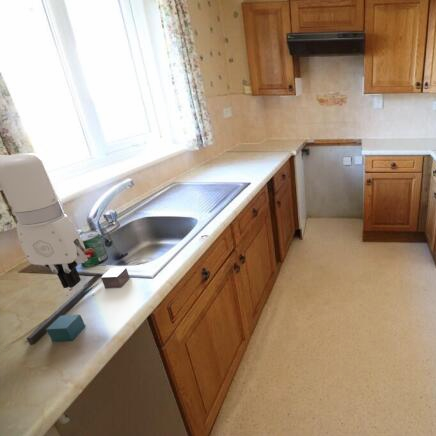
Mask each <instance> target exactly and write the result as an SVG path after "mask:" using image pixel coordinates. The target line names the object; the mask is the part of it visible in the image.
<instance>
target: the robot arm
mask: <svg viewBox="0 0 436 436" xmlns="http://www.w3.org/2000/svg"><path fill="white" fill-rule="evenodd" d="M0 191H2V192H3V194H4V196H5V198H6V200H7V202H8V204H9V206H10V208H11V214H12V215H13V216H15V218H16V221H17V222H16V224H15V226H16V234H17V237H18V241H19V244H20V246H21V248H22V251H23V253H24V255H25V258H26V259H27V261H28V262H29V264H31V265H35V266H42V267H46V268H48V269H50V270H51V272H52V273H53V274H54V275H55V274H56V275H57V277H58V279H59V281H60V284H61V286H62V288H63V289H68V288H69V289H72V288H74V287H75V286H77V285H78V284H79V283H80V282H81V280H82V279H81V276H80V274H79V272H78V269H77V267H78V265H82V264H81V263H84V262H85V261H86V260H88V258H87V257H86V255H85V254H84V253H85V246H84V244H83V241H82V239H81V237H80V235H79V234H80V232H79V231H78V229H77V227H76V226H75V224H74V222H73V221H72V219H71V218H70V217H69V216H68V214H65V212H64V209H63V207H62V205H61V203H60V200H59V198H58V196H57V193H56V190H55V188H54V186H53V183H52V181H51V179H50V176H49V174H48V172H47V169H46V167H45V164H44V162H43V160H42V159H41V157H40V156H39V155H37V154H35V153H32V152H31V153H30V152H24V153H13V154H0Z"/></svg>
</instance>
